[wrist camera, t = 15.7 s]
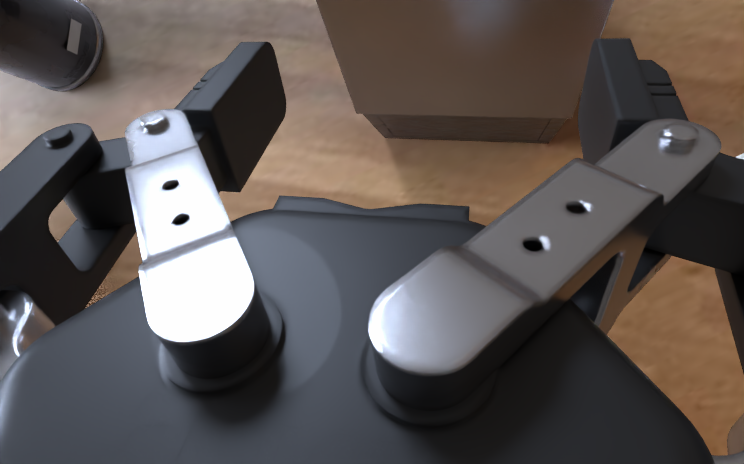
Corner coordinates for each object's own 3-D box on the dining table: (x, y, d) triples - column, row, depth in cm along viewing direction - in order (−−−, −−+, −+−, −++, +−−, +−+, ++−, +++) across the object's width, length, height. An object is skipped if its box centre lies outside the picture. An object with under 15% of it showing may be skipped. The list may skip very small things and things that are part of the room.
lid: (259, -187, 18) (224, -74, 16) (689, -234, 15) (703, -103, 13) (357, 102, 35) (345, 174, 33) (572, 106, 32) (571, 185, 30)
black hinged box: (398, -52, 45) (376, -133, 35) (563, -60, 42) (590, -151, 32) (384, 138, 45) (358, 110, 35) (548, 143, 42) (570, 114, 32)
